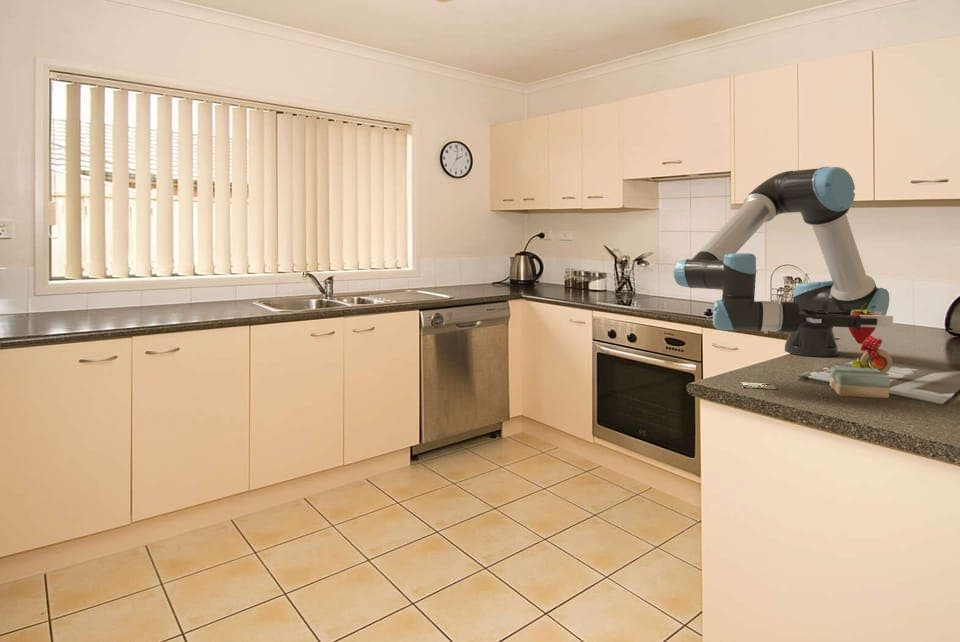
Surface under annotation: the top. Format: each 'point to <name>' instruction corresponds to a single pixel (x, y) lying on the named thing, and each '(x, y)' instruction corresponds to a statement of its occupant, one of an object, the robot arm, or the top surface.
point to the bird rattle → (877, 361)
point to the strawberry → (864, 331)
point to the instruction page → (753, 384)
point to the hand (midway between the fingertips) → (886, 319)
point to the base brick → (860, 382)
